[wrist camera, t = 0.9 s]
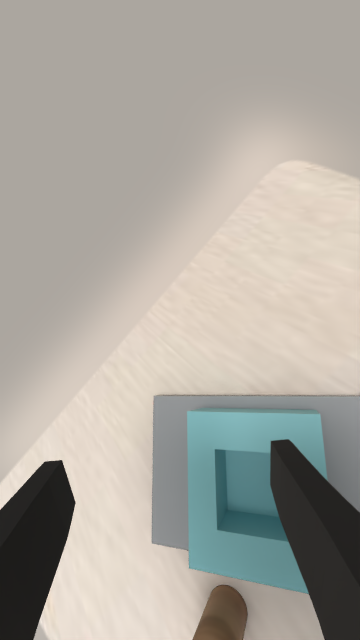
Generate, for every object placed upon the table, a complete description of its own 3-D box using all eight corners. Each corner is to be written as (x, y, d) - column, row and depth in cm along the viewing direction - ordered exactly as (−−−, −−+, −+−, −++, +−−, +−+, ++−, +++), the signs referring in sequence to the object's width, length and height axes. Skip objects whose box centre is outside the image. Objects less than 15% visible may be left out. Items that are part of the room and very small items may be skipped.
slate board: (523, 603, 17) (539, 618, 16) (157, 536, 26) (151, 543, 25) (476, 396, 20) (486, 396, 19) (159, 395, 28) (153, 395, 27)
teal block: (332, 561, 20) (340, 600, 16) (205, 539, 23) (189, 568, 19) (315, 409, 22) (320, 414, 19) (202, 407, 25) (187, 411, 22)
